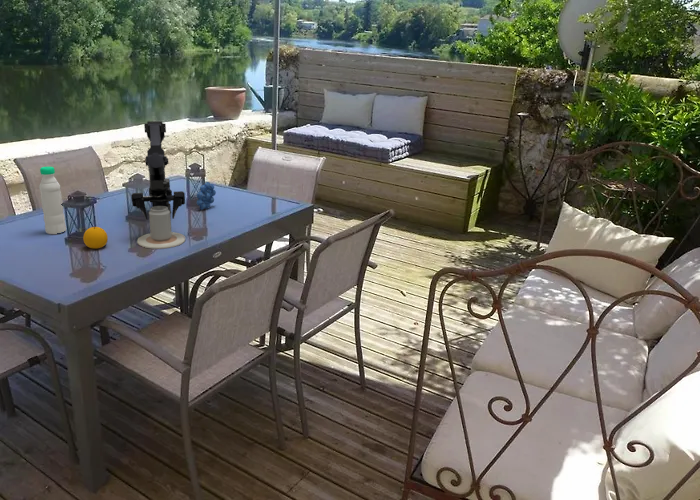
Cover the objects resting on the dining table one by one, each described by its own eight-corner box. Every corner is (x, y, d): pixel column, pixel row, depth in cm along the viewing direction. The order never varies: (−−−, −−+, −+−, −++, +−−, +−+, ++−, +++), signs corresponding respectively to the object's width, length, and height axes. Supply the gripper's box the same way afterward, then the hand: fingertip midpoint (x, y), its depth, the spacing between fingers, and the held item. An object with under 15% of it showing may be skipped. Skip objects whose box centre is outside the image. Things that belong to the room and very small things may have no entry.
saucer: (129, 247, 205) (129, 245, 205) (148, 232, 221) (148, 230, 221) (176, 250, 205) (176, 247, 204) (191, 235, 221) (191, 232, 220)
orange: (82, 251, 200) (79, 230, 197) (87, 243, 207) (84, 223, 205) (106, 250, 202) (104, 230, 199) (110, 243, 209) (108, 223, 206)
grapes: (208, 204, 261) (206, 178, 257) (219, 206, 258) (218, 180, 254) (190, 210, 252) (188, 183, 247) (202, 212, 249) (200, 185, 245)
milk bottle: (70, 231, 219) (62, 166, 210) (54, 236, 213) (45, 170, 204) (57, 227, 222) (48, 164, 213) (41, 232, 216) (31, 167, 207)
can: (152, 242, 208) (150, 211, 204) (149, 236, 214) (146, 205, 210) (173, 240, 211) (171, 209, 207) (169, 234, 218) (167, 204, 213)
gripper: (129, 171, 205) (130, 209, 199) (183, 170, 211) (186, 207, 205) (132, 187, 215) (133, 224, 209) (183, 185, 221) (186, 221, 215)
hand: (160, 218), depth 209 cm, fingers open, 9 cm apart
